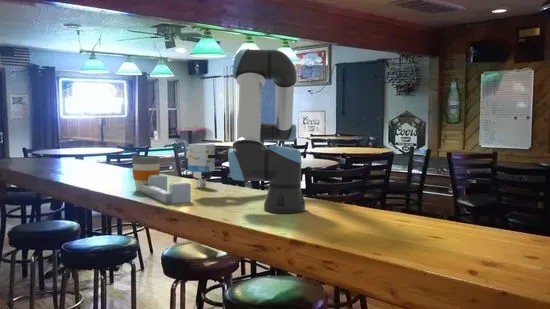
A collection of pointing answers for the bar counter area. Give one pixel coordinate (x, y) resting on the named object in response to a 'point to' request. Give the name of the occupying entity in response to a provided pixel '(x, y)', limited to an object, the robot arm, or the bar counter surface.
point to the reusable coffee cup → (144, 169)
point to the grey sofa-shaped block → (172, 188)
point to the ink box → (194, 157)
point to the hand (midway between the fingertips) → (193, 155)
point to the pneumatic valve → (202, 176)
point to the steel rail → (157, 193)
